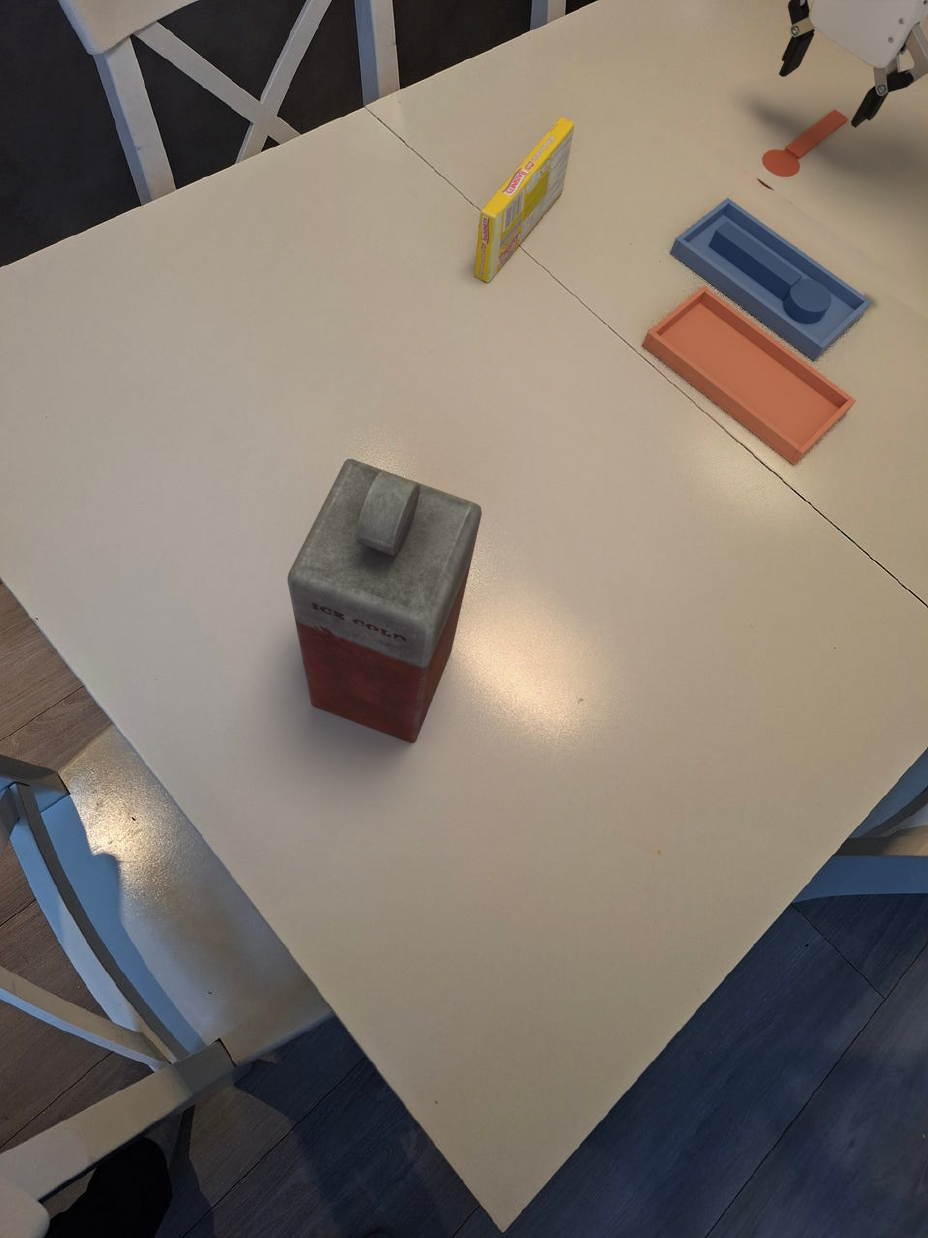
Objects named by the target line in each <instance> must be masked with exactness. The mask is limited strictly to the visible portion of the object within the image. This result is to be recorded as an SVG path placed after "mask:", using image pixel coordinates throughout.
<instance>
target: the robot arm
mask: <svg viewBox="0 0 928 1238" xmlns="http://www.w3.org/2000/svg"><path fill="white" fill-rule="evenodd" d="M787 10H788V14H789V19H790V24H791V26H790V28H789V34H790V36H791V37H790V38H789V41H788V44H787V46H786V48H785V50H784V52H783V54H782V57H781V61H782V62H783V63H782V66H781V68H780V70H779V71H778V76H779V77H781V78H786V77H787V76H789V75H790V74H791V73H793V72H794V71H796V70H797V69H798V68H799V67H800V66H801V64H802V62H803V60H804V57H805V55H806V53H807V52H808V50H809V48H810V45H811V43H812V41H813V38H814V37H815V31H816V30H817V31H818V32H819V33H821V35H823V36H825V37H826V38H827V39H829V40H831V42H834V43H835V44H836V45H838V47H839V46H840V47H841V48H842V49H844V50H845V51H847V52H848V53H849V54H851V55H853V56H854V57H856V58H857V59H858V60H860V61H862V62H863V63H864V64H866V65H868V66H870V67H872V71H873V76H874V77H873V79H874V85H873V86H872V87H871V88H870V89H868V91H867V92H866V94H865V96H864V98H863V99H862V101H861V102H860V105H859V107H858V108H857V110H856V112H855V114H854V115H853V117H852V119H851V120H850V126H852V127H853V128H855V129H856V128H857V127H858V126H860V125H861V124H862V123H863V122H865V121H869V122H870V121H871V120H873V119H874V118H875V117H876V116H877V114H878V112H879V110H880V109H881V107H882V105H883V104H884V102H885V100H886V99H887V97H888V95H889V94H890V93H892V92H897V91H899V90H902V89H906V88H908V87H909V86H911V85H912V84H914V83H915V82H917V81H918V80H920V79H921V78H923V77H925V76H926V75H927V74H928V40H927V38H926V35H925V34H924V31H923V29H922V26H923V24H924V22H925V20H926V18H927V17H928V0H812V2H811V4H810V7H809V1H808V0H789V2H788V3H787ZM907 51H908V53H909V55H910V56H911V59H912V60H913V67H912V68H908V69H905V70H902V71H901V61H900V55H904V54H905V53H906V52H907Z"/></svg>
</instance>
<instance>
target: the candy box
mask: <svg viewBox="0 0 928 1238" xmlns="http://www.w3.org/2000/svg"><path fill="white" fill-rule="evenodd" d="M574 130H575V122H574V121H573V120H569V119H567V118H565V117H562V116H560V117H559V118H558V120H557V121H556V122H555V123H554V125H553V126H552V127H551V128H550V129H549V131H548V132H547V133H546V134H545V135H544V136H543V137H542V138H541V140H539V142H538V143H537V144H536V145H535V146H534V148H533V149H532V150H531V152H530V153H528V155H527V156H526V157H525V159H524V160H522V162H521V163H520V165H518V167H516V169H515V170H514V171H513V173H512V174H511V175H510V176H509V177H508V179H506V181H505V182H504V184H502V186H501V187H499V189H498V190H497V191H496V192H495V194H494V195H493V196H492V197H491V199H489V201H488V202H487V203H486V205H484V206H483V208H482V209H481V210H480V213H479V222H478V223H479V224H478V232H477V240H476V241H477V242H476V253H475V264H474V274H473V275H474V277H475V278H478V279H479V280H482V281H483V282H485V283H488V284H489V283H490V282H491V281H492V279H493V278H494V277H495V276H496V275H497V273H499V271H500V269H502V267H503V266H504V265H505V264H506V262H508V260H509V259H510V257H511V256H512V255H513V254H514V252H515V251H516V250H517V249H518V247H519V246H520V245H521V244H522V243H523V241H524V240H525V239H526V238H527V236H528V235H529V234H530V233H531V231H533V229H534V228H535V226H536V225H537V224H538V223H539V221H540V220H541V219H542V218H543V217H544V216H545V214H546V213H547V212H548V211H549V209H550V208H551V207H552V205H554V203H555V202H556V201H557V199H558V198H559V197H560V196H561V195H562V193H563V191H564V184H565V179H566V175H567V169H568V163H569V159H570V152H571V147H572V142H573V141H572V140H573V136H574Z"/></svg>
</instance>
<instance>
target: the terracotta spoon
mask: <svg viewBox="0 0 928 1238" xmlns="http://www.w3.org/2000/svg"><path fill="white" fill-rule="evenodd" d="M848 120H849V117H847V116H845V115H844V114H843V113H841V112H840V111H838V110H837V109H832V110H831V111H830V112H829V113H828V114H826V115H825V116H824V117H823V118H821V119H820V120H819V121H817V122H816V123H815V124H813V125H812V126H811V127H810V128H808V129H806V131H805V132H803V133H802V134H801V135H799V136H798V137H797V138H795V140H793V141H792V142H790V143H789V144H788V145H787V146H786V147H784V149H776V148H773V149H769V150H767V151H765V152H764V153H763V155H762V157H761V163H762V165H763V166H764V168H765V169H766V170H767V171H768V172H770V173H771V174H772V175H775V176H778V177H781V178H790V177H794V176H795V175H797V174H798V173H799V172H800V171H801V170H800V169H801V165H800V161H799V160H801V158H803V157H804V156H805V155H807V154H808V153H809V152H811V151H812V150H813V149H814V148H815V147H817V146H818V145H820V143H822V142H823V141H825V140H826V139H827V138H828V137H829V136H831V135H832V134H833V133H834V132H836V131H837V130H838V129H839V128H840V127H842V126H843V125H844V124H846V123H847V122H848ZM756 179H757V181H758V182H759V183H760V184H761V185H762V186H764V187H765V188H767V189H769V190H773V191H775V189H773V188H772V187H771V186H770V185H768V184H767V183H766V182H765V181H763V180H761V179H760V178H758V177H756Z"/></svg>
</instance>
